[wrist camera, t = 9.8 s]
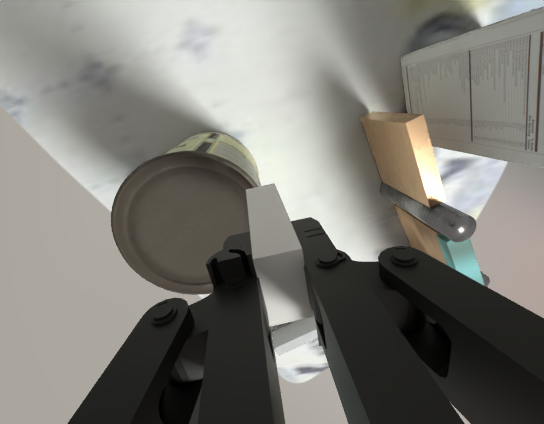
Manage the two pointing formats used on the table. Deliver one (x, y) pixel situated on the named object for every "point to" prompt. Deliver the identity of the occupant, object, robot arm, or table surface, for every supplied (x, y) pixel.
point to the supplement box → (483, 90)
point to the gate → (440, 245)
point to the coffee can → (184, 210)
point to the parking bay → (294, 335)
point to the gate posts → (413, 173)
